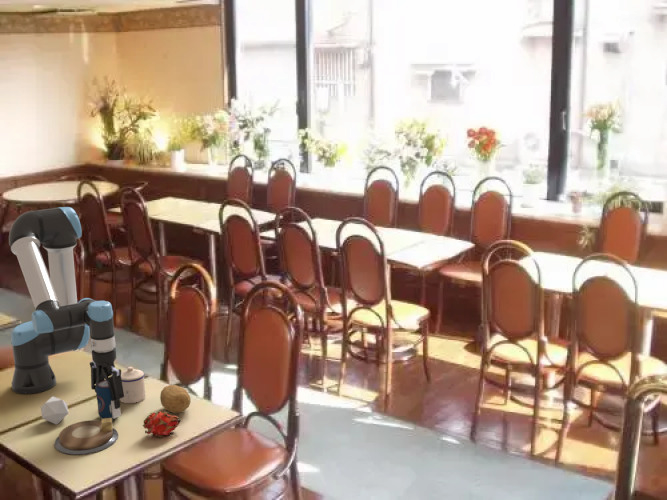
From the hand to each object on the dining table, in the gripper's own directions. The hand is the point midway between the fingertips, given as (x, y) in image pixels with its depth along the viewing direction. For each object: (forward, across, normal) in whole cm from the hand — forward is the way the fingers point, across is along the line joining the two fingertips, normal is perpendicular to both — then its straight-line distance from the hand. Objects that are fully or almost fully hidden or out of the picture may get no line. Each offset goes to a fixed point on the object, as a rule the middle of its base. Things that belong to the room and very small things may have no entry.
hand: (109, 413), depth 268 cm
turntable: (+1, +7, -14) cm, 16 cm away
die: (+2, -13, -12) cm, 18 cm away
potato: (+2, +13, +17) cm, 22 cm away
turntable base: (+1, +7, -14) cm, 16 cm away
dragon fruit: (+2, +23, +3) cm, 24 cm away
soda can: (+1, 0, 0) cm, 1 cm away
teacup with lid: (+2, -7, +13) cm, 15 cm away
